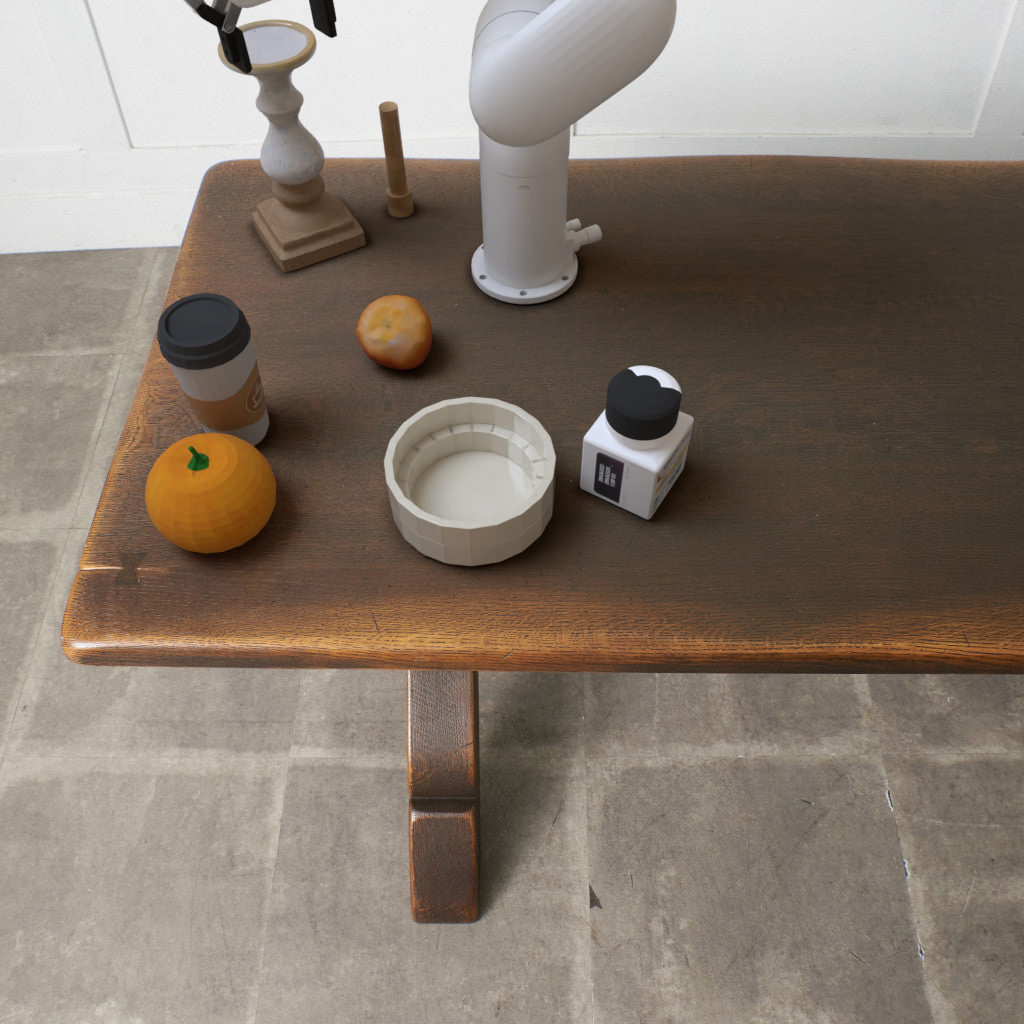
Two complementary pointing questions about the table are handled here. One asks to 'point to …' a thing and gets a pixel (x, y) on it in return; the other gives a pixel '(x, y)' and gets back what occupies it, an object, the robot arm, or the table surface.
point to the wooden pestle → (395, 162)
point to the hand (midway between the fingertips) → (284, 49)
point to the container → (637, 441)
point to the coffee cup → (215, 364)
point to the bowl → (471, 480)
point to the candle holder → (292, 155)
